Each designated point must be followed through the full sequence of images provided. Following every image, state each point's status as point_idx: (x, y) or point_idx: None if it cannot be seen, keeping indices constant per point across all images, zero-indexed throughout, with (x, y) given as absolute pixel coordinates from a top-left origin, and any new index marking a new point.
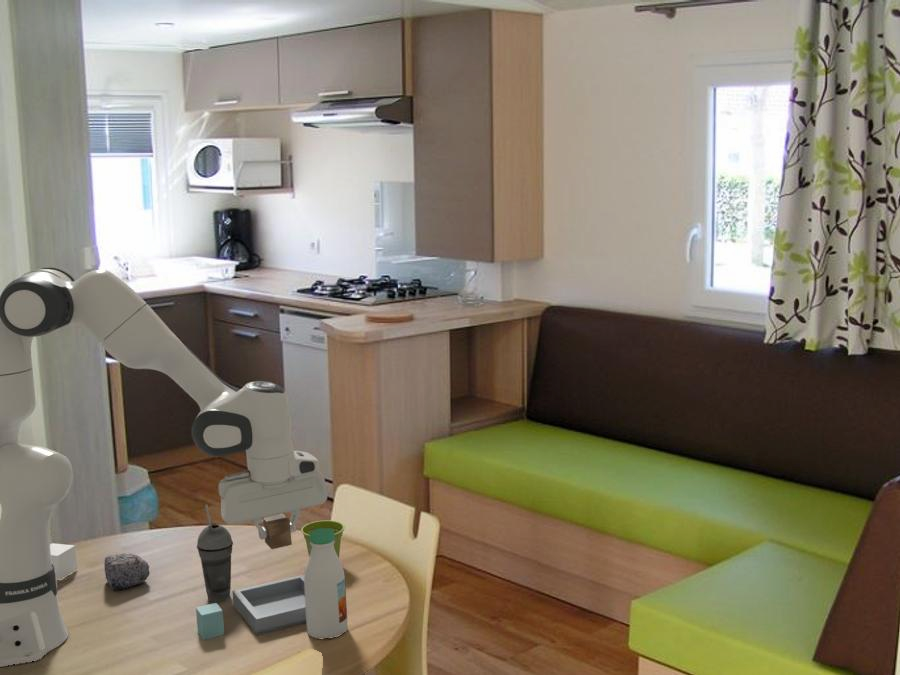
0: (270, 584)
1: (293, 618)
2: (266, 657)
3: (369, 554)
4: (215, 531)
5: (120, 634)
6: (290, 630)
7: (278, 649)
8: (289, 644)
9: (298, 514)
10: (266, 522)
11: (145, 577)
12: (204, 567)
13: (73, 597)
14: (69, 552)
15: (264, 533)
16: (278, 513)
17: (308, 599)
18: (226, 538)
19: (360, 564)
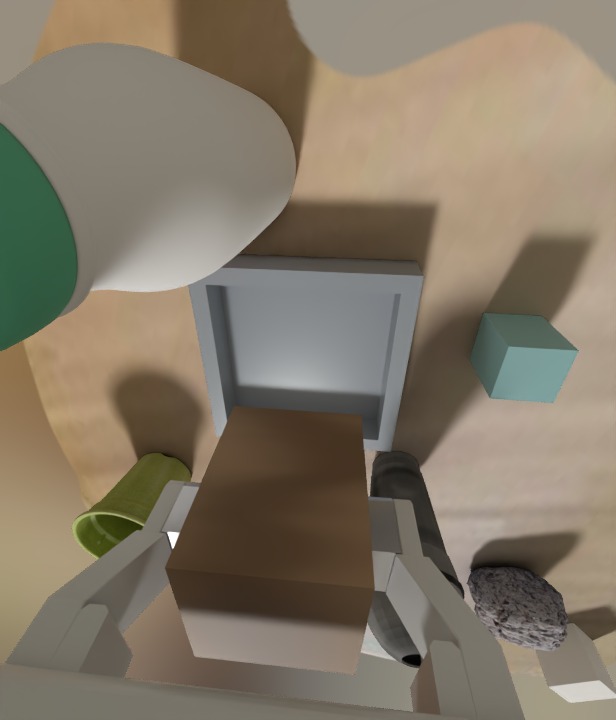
0: None
1: (308, 263)
2: (473, 85)
3: (77, 463)
4: None
5: None
6: (328, 235)
7: (412, 126)
8: (368, 142)
9: (65, 600)
10: (364, 624)
11: (479, 575)
12: (441, 537)
13: (599, 583)
14: (562, 676)
15: (392, 531)
16: (245, 705)
17: (269, 152)
18: None
19: (98, 440)
